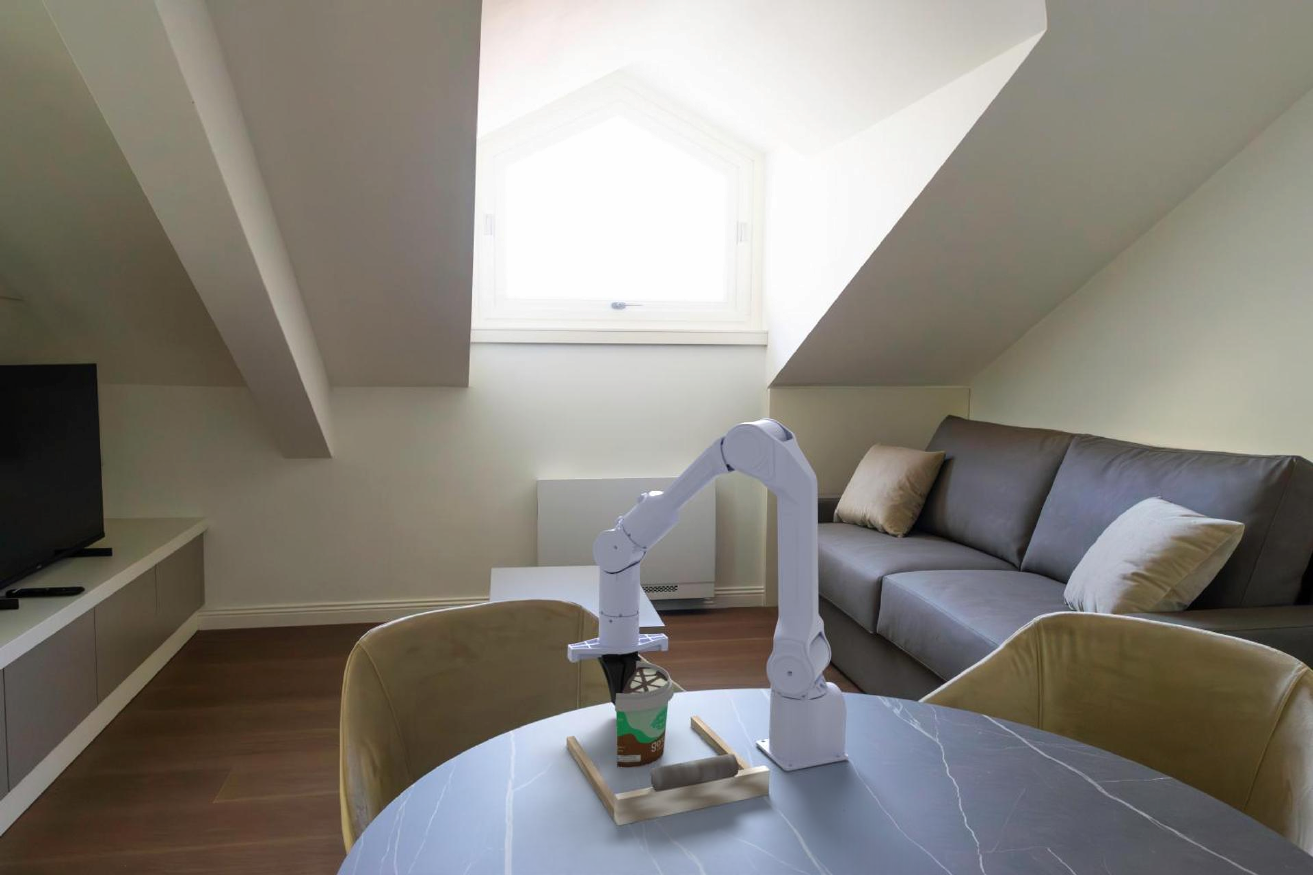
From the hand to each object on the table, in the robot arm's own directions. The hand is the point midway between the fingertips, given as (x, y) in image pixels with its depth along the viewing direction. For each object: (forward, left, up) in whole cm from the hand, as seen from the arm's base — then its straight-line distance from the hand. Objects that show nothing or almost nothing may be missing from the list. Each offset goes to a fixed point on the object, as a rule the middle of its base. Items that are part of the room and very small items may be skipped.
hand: (617, 703), depth 121 cm
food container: (0, +12, -2) cm, 12 cm away
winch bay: (0, +16, -2) cm, 16 cm away
